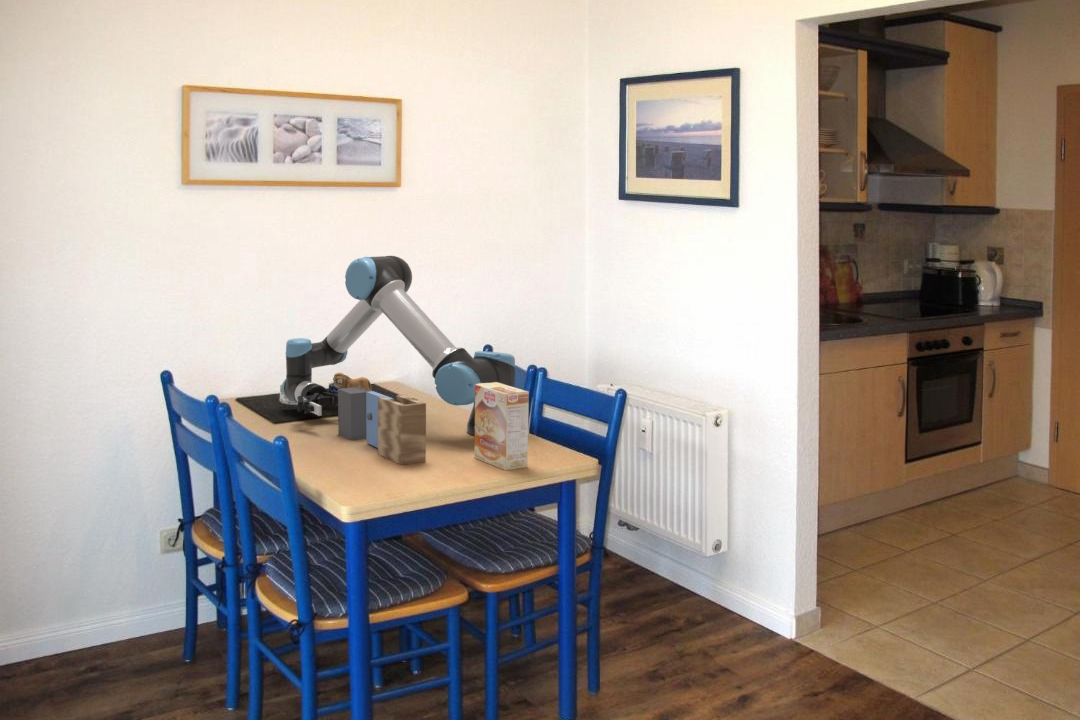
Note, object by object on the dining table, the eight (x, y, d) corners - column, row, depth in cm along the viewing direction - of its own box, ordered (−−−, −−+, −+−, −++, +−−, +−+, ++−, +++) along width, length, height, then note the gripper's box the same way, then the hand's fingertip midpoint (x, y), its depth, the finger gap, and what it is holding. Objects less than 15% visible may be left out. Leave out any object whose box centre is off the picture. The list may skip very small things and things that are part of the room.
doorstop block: (338, 434, 303) (338, 388, 301) (356, 432, 306) (356, 387, 304) (350, 440, 296) (350, 393, 294) (369, 438, 299) (369, 391, 297)
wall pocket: (378, 454, 282) (377, 397, 279) (401, 450, 286) (401, 394, 283) (401, 464, 271) (401, 406, 269) (425, 461, 275) (425, 403, 273)
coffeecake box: (473, 458, 280) (474, 383, 277) (496, 454, 284) (497, 381, 281) (504, 471, 268) (506, 393, 265) (528, 467, 272) (530, 390, 269)
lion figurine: (337, 401, 348) (337, 374, 346) (330, 399, 352) (329, 371, 351) (378, 397, 357) (378, 370, 355) (370, 394, 361) (370, 368, 359)
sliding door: (364, 443, 292) (364, 392, 290) (373, 442, 293) (373, 391, 291) (385, 452, 282) (385, 399, 280) (394, 451, 284) (394, 398, 282)
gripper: (350, 404, 330) (382, 416, 312) (272, 412, 315) (301, 426, 298) (350, 379, 328) (382, 391, 311) (271, 387, 314) (300, 399, 297)
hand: (342, 408), depth 305 cm, fingers open, 13 cm apart
